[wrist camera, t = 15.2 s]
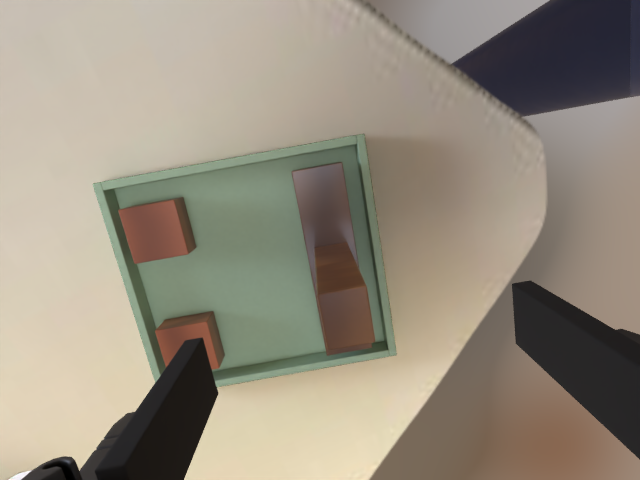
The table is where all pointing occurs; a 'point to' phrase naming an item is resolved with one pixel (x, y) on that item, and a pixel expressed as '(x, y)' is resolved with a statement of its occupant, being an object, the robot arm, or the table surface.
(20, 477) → the wineglass
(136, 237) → the chip
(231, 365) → the tray
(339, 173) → the brown piece
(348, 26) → the table surface
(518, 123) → the table surface
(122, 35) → the table surface
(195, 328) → the chip
